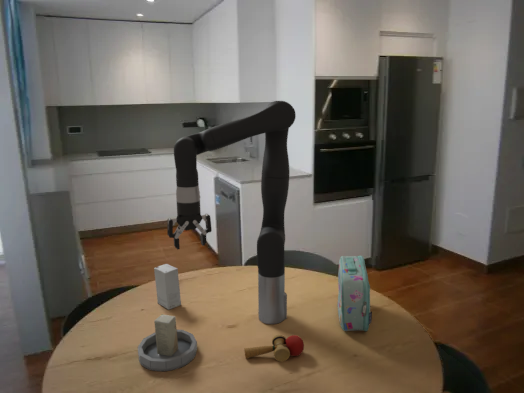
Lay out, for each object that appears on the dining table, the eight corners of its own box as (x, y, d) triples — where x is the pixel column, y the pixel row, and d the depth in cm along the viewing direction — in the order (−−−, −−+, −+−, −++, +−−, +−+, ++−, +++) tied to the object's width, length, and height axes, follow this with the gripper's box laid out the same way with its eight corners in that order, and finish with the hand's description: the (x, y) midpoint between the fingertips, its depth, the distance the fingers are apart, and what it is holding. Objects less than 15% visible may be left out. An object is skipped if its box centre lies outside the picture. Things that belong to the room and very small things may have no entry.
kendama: (247, 371, 120) (307, 358, 122) (243, 350, 120) (304, 338, 121) (246, 359, 128) (303, 348, 129) (242, 339, 127) (299, 328, 129)
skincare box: (181, 305, 157) (179, 268, 153) (167, 310, 153) (165, 273, 149) (169, 298, 163) (167, 262, 159) (155, 303, 158) (153, 266, 155)
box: (178, 349, 127) (176, 316, 125) (171, 357, 123) (169, 323, 121) (163, 345, 129) (161, 313, 126) (156, 353, 125) (153, 320, 123)
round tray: (188, 333, 137) (188, 324, 137) (203, 361, 122) (202, 352, 121) (135, 345, 130) (134, 336, 130) (143, 377, 115) (142, 367, 114)
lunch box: (372, 340, 133) (376, 278, 128) (339, 338, 134) (342, 276, 129) (362, 301, 159) (365, 248, 154) (335, 300, 160) (337, 247, 155)
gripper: (206, 195, 140) (207, 240, 144) (163, 199, 134) (166, 246, 138) (212, 199, 133) (214, 247, 137) (168, 204, 128) (171, 253, 131)
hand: (190, 246), depth 137 cm, fingers open, 8 cm apart
